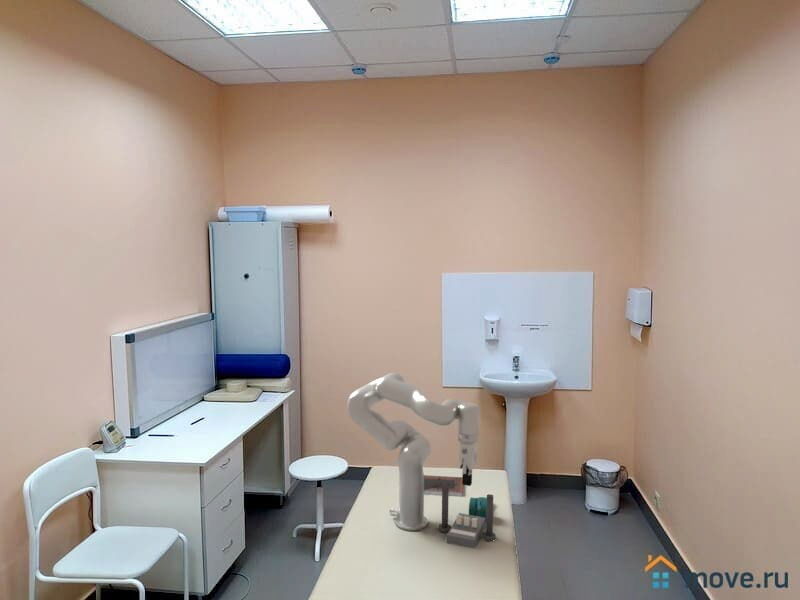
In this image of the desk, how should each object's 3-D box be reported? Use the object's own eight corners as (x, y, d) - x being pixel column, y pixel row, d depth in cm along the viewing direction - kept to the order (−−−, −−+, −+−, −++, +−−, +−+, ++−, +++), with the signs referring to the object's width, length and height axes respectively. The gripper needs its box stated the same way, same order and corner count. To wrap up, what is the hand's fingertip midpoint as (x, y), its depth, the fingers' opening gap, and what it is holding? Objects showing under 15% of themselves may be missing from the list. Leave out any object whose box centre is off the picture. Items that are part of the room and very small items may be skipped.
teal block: (485, 523, 217) (486, 504, 217) (468, 521, 219) (469, 501, 219) (492, 503, 234) (492, 485, 234) (476, 501, 236) (476, 483, 236)
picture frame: (412, 494, 243) (462, 497, 241) (412, 489, 243) (462, 492, 240) (415, 479, 260) (462, 482, 257) (415, 474, 259) (462, 476, 257)
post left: (436, 531, 211) (437, 490, 209) (440, 525, 215) (441, 484, 214) (449, 533, 209) (450, 492, 207) (452, 527, 214) (453, 486, 212)
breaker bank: (456, 524, 210) (456, 516, 209) (457, 522, 211) (457, 515, 211) (476, 527, 207) (476, 520, 207) (477, 526, 208) (477, 518, 208)
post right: (480, 540, 205) (481, 497, 203) (483, 533, 209) (484, 491, 208) (494, 542, 203) (495, 499, 201) (497, 536, 208) (498, 494, 206)
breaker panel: (446, 542, 203) (446, 534, 202) (459, 520, 219) (459, 512, 219) (474, 548, 199) (474, 539, 199) (485, 525, 216) (485, 517, 215)
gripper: (473, 444, 197) (472, 494, 199) (482, 431, 211) (481, 478, 213) (453, 441, 200) (451, 490, 202) (463, 429, 214) (462, 475, 216)
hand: (466, 484), depth 207 cm, fingers closed
